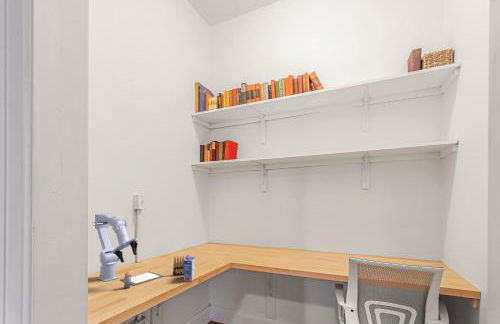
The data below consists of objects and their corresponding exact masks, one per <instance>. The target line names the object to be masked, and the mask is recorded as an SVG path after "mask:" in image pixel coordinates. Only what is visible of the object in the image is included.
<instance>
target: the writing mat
mask: <svg viewBox="0 0 500 324" xmlns="http://www.w3.org/2000/svg"><path fill="white" fill-rule="evenodd" d="M163 277H164V275H162V274H158V273H156V272H153V271H145V272H142V273H139V274H134V275H131V284H130V286H138V285H141V284H143V283H148V282H150V281H154V280H158V279H161V278H163ZM119 280H120V281H121V282H123V283H124V280H125V277H123V278H120V279H119Z"/></svg>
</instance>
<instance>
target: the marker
mask: <svg viewBox="0 0 500 324" xmlns="http://www.w3.org/2000/svg"><path fill="white" fill-rule="evenodd" d="M131 276H132V272H131V271H127V272H125V273H124V278H125V280H124V282H123V289H124V290H127V289H130V288H131Z"/></svg>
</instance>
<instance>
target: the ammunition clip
mask: <svg viewBox="0 0 500 324" xmlns="http://www.w3.org/2000/svg"><path fill="white" fill-rule="evenodd" d="M188 257H190V255H189V256H188ZM186 258H187V255H185V257H184V256H182V255H180V256H177V257H176V256H174V258H173V268H172V270H173V271H172V276H173V277H175V276H184V260H185V259H186Z"/></svg>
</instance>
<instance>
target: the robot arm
mask: <svg viewBox="0 0 500 324" xmlns="http://www.w3.org/2000/svg"><path fill="white" fill-rule="evenodd" d="M94 214H95V222H94V223H95V225H93V227H94V226H95V228H94V229H96V231H98V232H97V236H98V238H99V242H100V244H101V247H102V251H100V254H99V262H100V264H101V266H100V267H99V277H97V279H98V280H101V281H103V282H109V281H112V280H116V279H118V278H119V277H118V276H116V272H117V271H116V270H117V264H118V262H119V261H120V262H121V263H124V262H125V260H124V257H123V256H124V255H123V251H122V250H124V249H125V248H128V247H130V248H131V250H132V253H133V256H137V249H138V245H139V244H138V242H139V240H138V239H139V238H138V237H134V238H132V239H130V237H129V234H128V231H127V221H126V220H125V219H120V218H118V217H117V216H112V214H111V213H94ZM97 223H103V224H97ZM109 227H111V228H112V230H113V232H114V233H115V234H116V238H117V241H118V245H117V247H113V246H112V242H111V240H110V237H109V234H108V231H107V228H109Z"/></svg>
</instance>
